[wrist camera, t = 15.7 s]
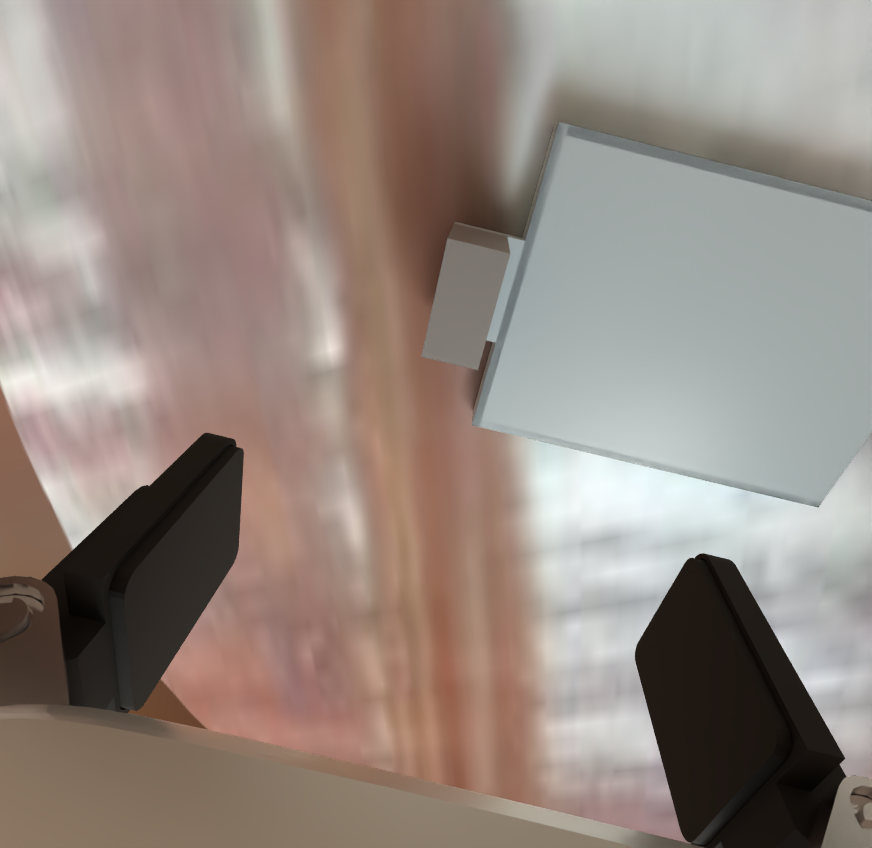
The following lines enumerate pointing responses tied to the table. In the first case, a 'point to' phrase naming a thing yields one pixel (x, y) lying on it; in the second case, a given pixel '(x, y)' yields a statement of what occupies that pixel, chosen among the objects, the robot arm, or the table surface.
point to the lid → (670, 317)
